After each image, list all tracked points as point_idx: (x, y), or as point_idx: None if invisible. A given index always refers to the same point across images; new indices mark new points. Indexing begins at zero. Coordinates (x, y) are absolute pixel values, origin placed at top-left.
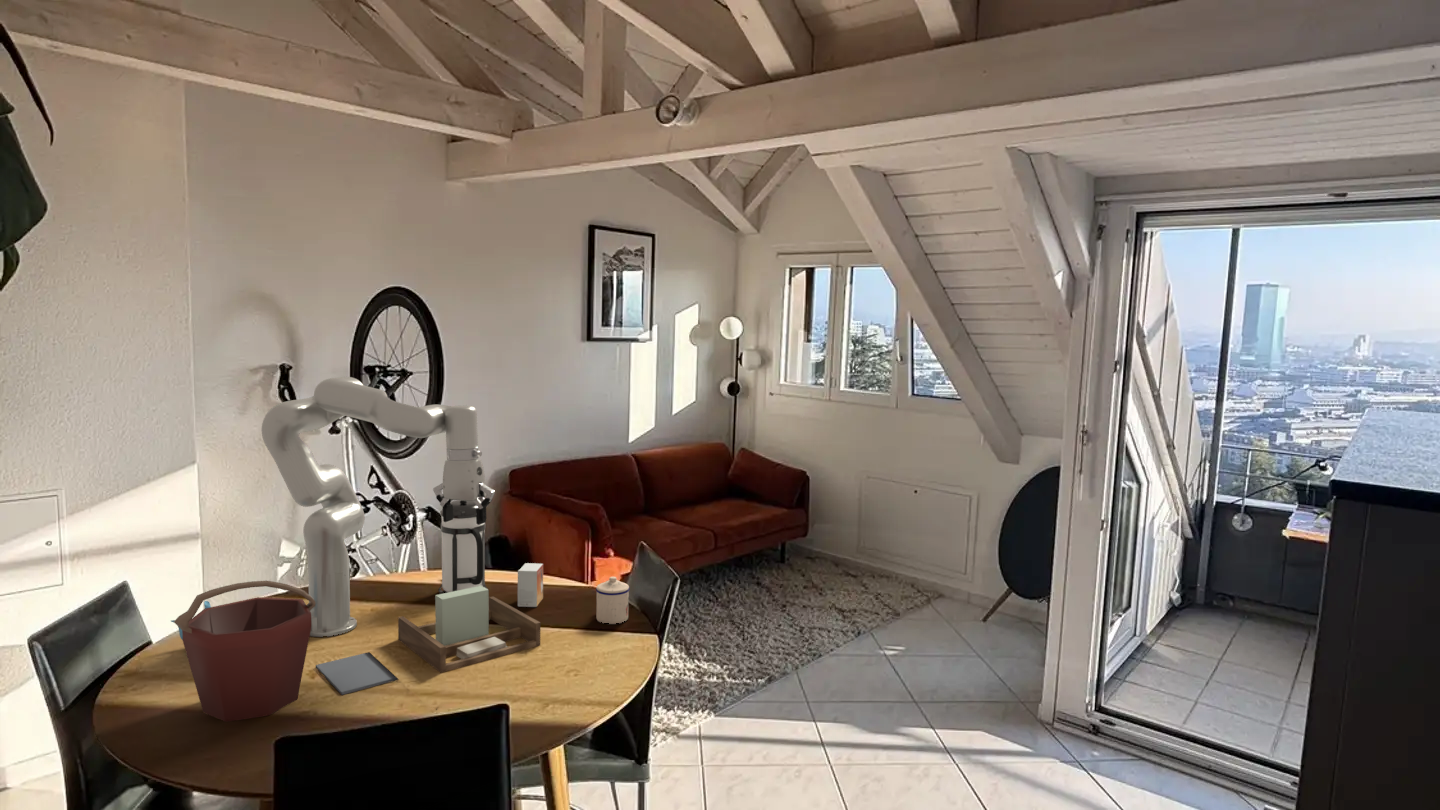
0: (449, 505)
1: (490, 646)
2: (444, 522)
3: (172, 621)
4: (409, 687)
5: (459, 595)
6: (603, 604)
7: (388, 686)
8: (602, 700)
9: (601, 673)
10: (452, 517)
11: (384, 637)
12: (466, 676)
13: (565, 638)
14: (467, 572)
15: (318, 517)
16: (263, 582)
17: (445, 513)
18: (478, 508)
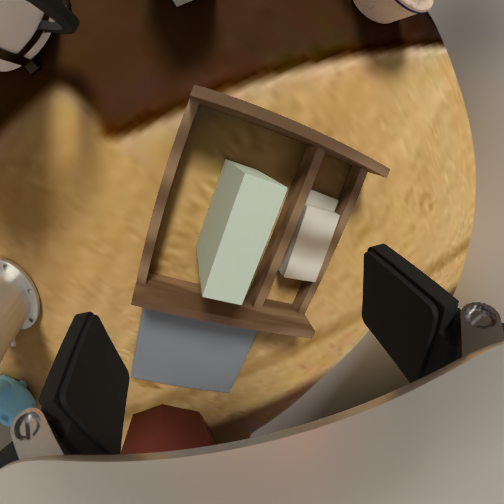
0: (80, 428)
1: (328, 241)
2: None
3: None
4: (279, 345)
5: (255, 264)
6: (397, 14)
7: (255, 357)
8: (462, 242)
9: (449, 188)
10: (95, 328)
11: (91, 270)
12: (322, 289)
13: (366, 99)
14: (27, 30)
15: None
16: None
17: (120, 418)
18: (428, 374)
